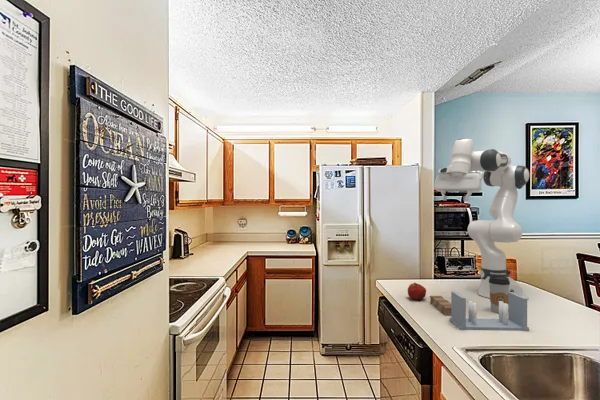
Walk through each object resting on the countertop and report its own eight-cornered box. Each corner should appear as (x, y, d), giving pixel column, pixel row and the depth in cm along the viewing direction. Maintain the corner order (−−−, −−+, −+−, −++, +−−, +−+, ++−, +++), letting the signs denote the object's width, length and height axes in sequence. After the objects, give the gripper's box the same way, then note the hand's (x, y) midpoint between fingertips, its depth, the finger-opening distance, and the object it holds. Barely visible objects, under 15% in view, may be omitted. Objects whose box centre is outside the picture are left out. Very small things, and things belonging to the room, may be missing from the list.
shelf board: (430, 304, 167) (430, 295, 167) (440, 304, 167) (440, 295, 167) (445, 316, 149) (445, 307, 149) (457, 316, 149) (457, 307, 149)
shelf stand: (513, 321, 143) (513, 292, 143) (529, 330, 133) (529, 298, 133) (449, 320, 144) (449, 291, 144) (459, 329, 134) (459, 298, 134)
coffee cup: (490, 313, 153) (490, 278, 153) (487, 307, 161) (487, 275, 161) (511, 315, 150) (512, 280, 150) (507, 309, 158) (507, 276, 158)
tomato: (418, 296, 180) (418, 280, 180) (430, 300, 172) (430, 284, 172) (403, 297, 178) (403, 281, 178) (414, 302, 169) (414, 286, 169)
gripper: (486, 173, 155) (481, 203, 152) (440, 174, 170) (436, 201, 167) (481, 168, 151) (476, 198, 148) (435, 169, 165) (430, 197, 163)
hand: (454, 200), depth 157 cm, fingers open, 8 cm apart
